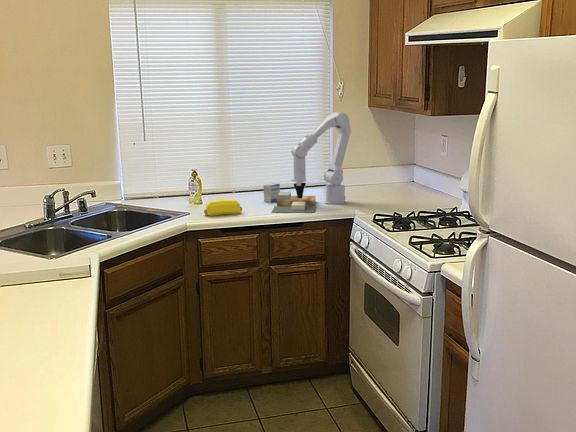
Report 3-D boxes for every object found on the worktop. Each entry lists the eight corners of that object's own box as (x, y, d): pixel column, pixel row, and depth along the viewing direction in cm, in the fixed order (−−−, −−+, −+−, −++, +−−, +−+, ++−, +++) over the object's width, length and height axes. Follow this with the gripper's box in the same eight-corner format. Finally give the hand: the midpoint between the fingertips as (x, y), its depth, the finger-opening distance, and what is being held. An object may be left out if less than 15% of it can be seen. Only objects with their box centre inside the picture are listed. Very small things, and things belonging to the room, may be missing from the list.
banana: (202, 214, 299) (205, 217, 292) (201, 200, 298) (204, 203, 291) (240, 211, 304) (244, 214, 297) (240, 197, 303) (243, 200, 296)
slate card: (290, 196, 322) (290, 191, 322) (289, 199, 313) (289, 195, 313) (279, 196, 323) (279, 191, 322) (277, 199, 314) (277, 195, 313)
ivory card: (305, 206, 311) (305, 201, 310) (304, 209, 302) (304, 205, 302) (293, 206, 311) (293, 201, 311) (291, 209, 303) (291, 205, 302)
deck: (315, 201, 323) (315, 195, 322) (314, 206, 311) (314, 200, 310) (279, 201, 324) (279, 195, 324) (276, 206, 313) (276, 200, 312)
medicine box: (270, 202, 322) (270, 185, 320) (263, 201, 325) (263, 184, 323) (280, 200, 328) (280, 183, 326) (273, 199, 331) (273, 182, 329)
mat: (316, 206, 310) (316, 206, 310) (314, 212, 297) (314, 212, 297) (274, 206, 312) (274, 206, 312) (271, 212, 299) (271, 212, 299)
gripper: (292, 168, 317) (292, 195, 320) (290, 172, 303) (290, 201, 306) (306, 168, 317) (307, 195, 320) (305, 172, 303) (305, 201, 306)
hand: (300, 198), depth 313 cm, fingers closed
